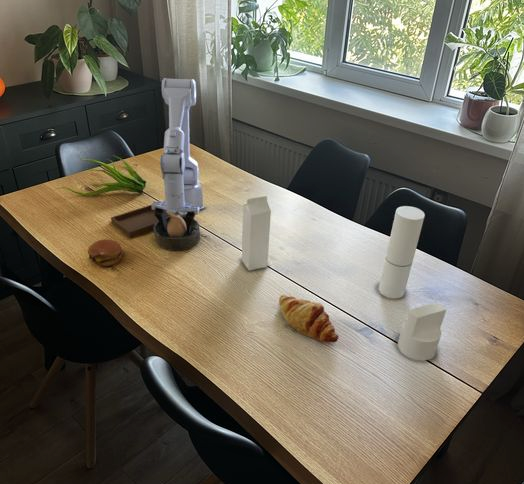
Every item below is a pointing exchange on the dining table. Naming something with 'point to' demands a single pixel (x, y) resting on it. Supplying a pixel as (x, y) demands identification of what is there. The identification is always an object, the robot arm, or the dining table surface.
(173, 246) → the dark grey mixing bowl
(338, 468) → the dining table surface
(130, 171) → the decorative plant
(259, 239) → the milk
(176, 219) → the egg
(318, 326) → the croissant
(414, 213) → the cylindrical container
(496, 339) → the dining table surface
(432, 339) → the base with upright slab
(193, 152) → the dining table surface
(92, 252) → the burger
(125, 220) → the tray
